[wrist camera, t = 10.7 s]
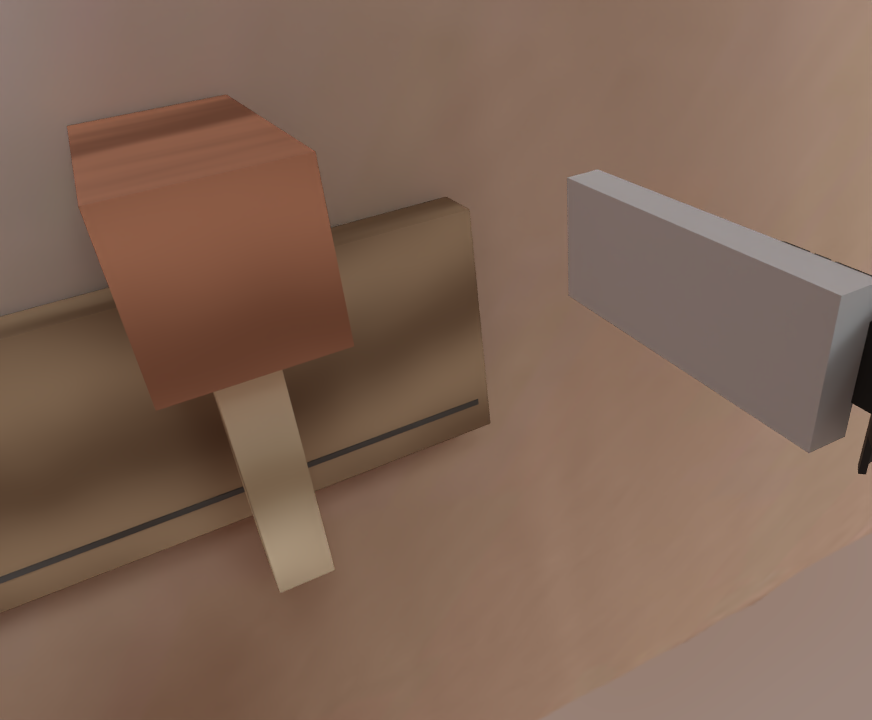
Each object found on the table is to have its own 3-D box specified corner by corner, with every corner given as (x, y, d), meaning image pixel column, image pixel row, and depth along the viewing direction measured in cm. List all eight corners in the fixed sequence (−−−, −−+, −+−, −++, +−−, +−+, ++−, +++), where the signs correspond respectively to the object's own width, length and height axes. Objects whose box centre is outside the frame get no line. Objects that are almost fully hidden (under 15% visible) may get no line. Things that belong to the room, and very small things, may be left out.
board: (-542, 462, 20) (-596, 506, 18) (446, 196, 29) (470, 209, 28) (-309, 692, 25) (-334, 743, 23) (469, 402, 34) (491, 423, 33)
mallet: (67, 126, 23) (78, 206, 15) (226, 94, 24) (315, 151, 16) (201, 494, 30) (258, 680, 22) (316, 452, 32) (407, 610, 24)
